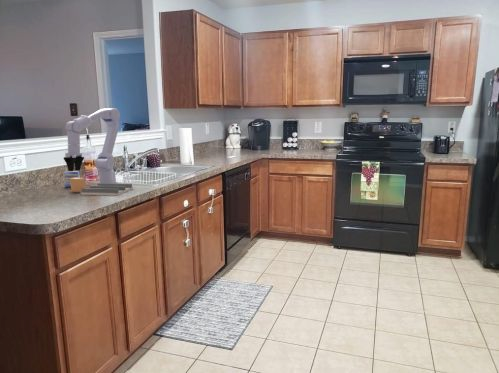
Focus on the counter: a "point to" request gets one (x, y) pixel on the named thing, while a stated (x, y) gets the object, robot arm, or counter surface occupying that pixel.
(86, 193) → the slot rack
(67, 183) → the medicine box
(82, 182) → the orange block
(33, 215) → the counter surface
